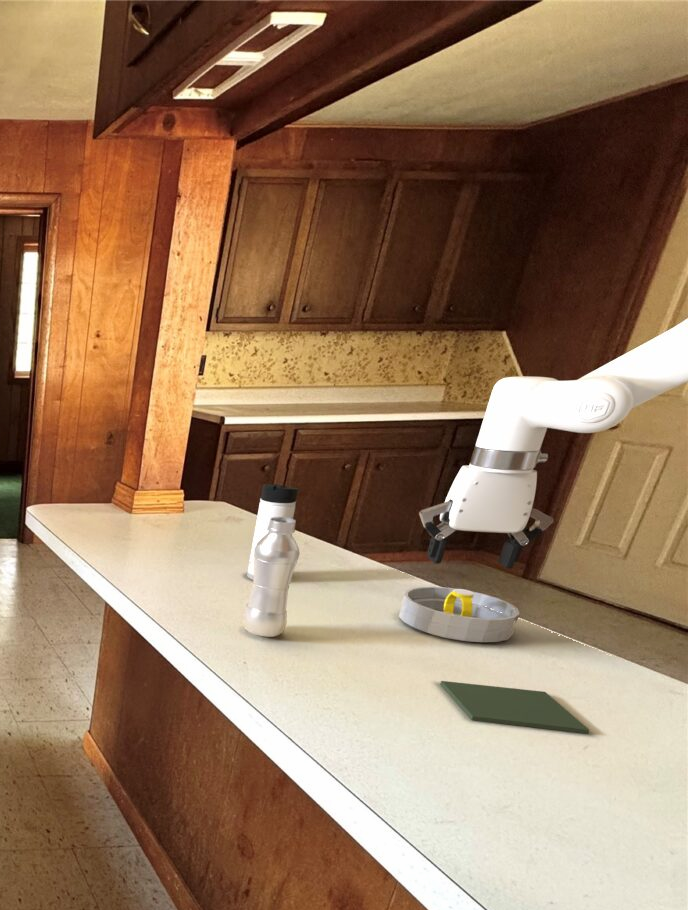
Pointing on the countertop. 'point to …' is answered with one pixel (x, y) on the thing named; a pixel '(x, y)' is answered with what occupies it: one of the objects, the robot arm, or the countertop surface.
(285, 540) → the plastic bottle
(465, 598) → the watch
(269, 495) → the travel mug
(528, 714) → the mat
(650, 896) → the countertop surface
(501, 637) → the basin
